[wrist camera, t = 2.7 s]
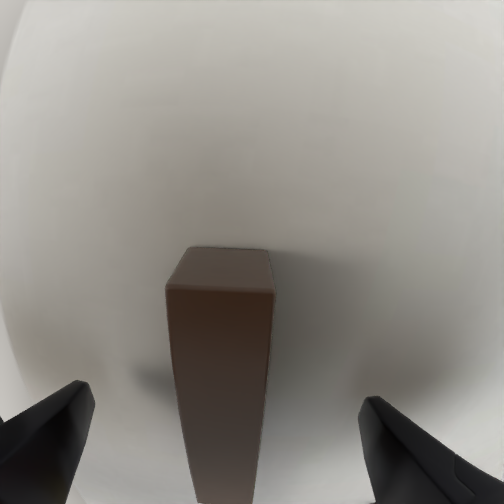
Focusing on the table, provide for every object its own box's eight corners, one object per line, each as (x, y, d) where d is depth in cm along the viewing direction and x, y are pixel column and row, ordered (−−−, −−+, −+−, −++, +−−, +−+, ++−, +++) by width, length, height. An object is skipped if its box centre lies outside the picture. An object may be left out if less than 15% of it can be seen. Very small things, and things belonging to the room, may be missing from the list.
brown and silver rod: (214, 534, 14) (213, 560, 12) (187, 245, 8) (163, 284, 5) (243, 535, 14) (243, 561, 12) (268, 249, 8) (276, 290, 5)
